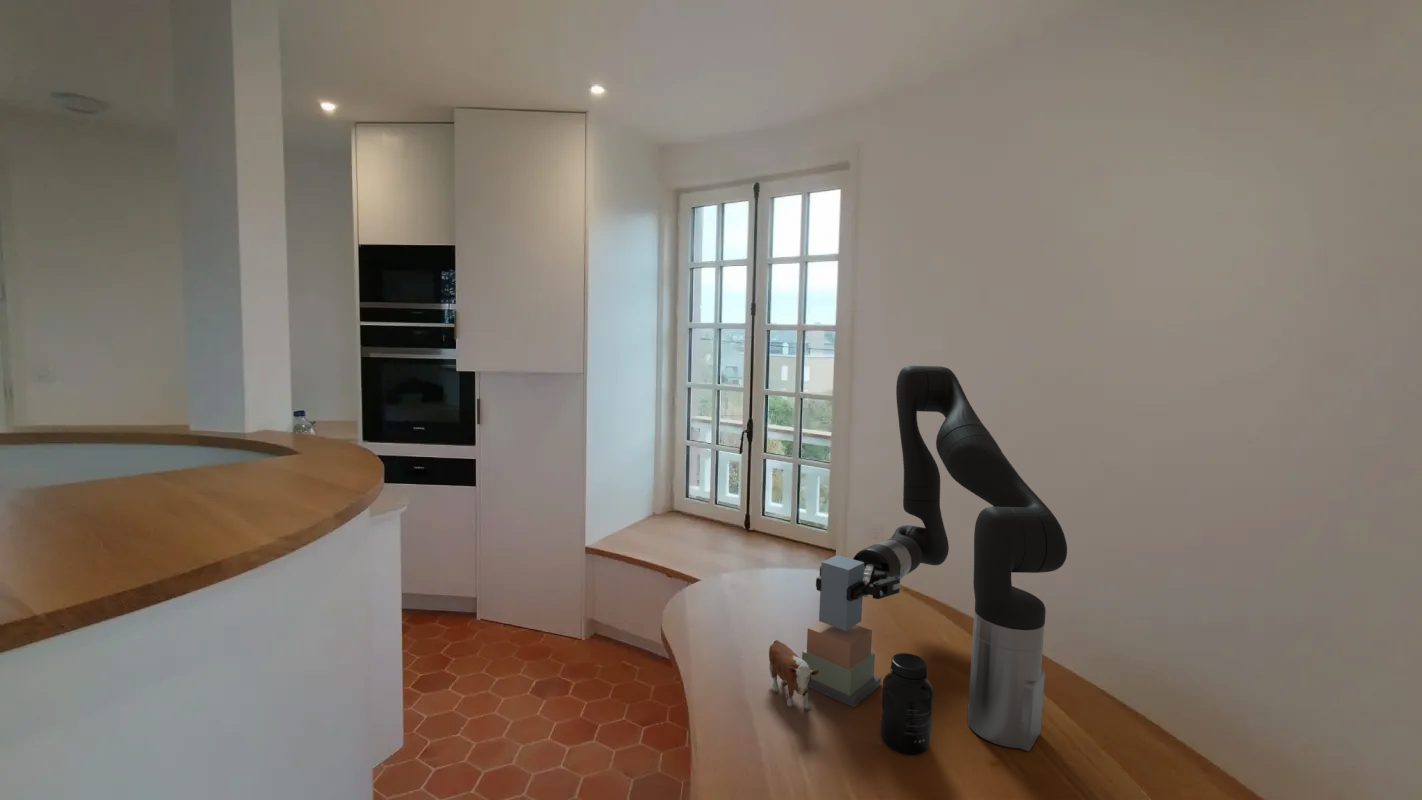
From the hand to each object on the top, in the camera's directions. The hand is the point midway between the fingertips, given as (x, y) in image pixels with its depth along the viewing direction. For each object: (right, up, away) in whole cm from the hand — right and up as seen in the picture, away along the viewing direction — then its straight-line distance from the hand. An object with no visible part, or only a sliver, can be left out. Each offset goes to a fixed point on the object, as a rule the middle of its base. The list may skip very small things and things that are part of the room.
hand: (833, 589), depth 100 cm
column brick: (+2, -6, +3) cm, 7 cm away
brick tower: (+1, -16, +3) cm, 17 cm away
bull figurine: (-7, -17, -2) cm, 18 cm away
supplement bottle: (+8, -18, -12) cm, 23 cm away
